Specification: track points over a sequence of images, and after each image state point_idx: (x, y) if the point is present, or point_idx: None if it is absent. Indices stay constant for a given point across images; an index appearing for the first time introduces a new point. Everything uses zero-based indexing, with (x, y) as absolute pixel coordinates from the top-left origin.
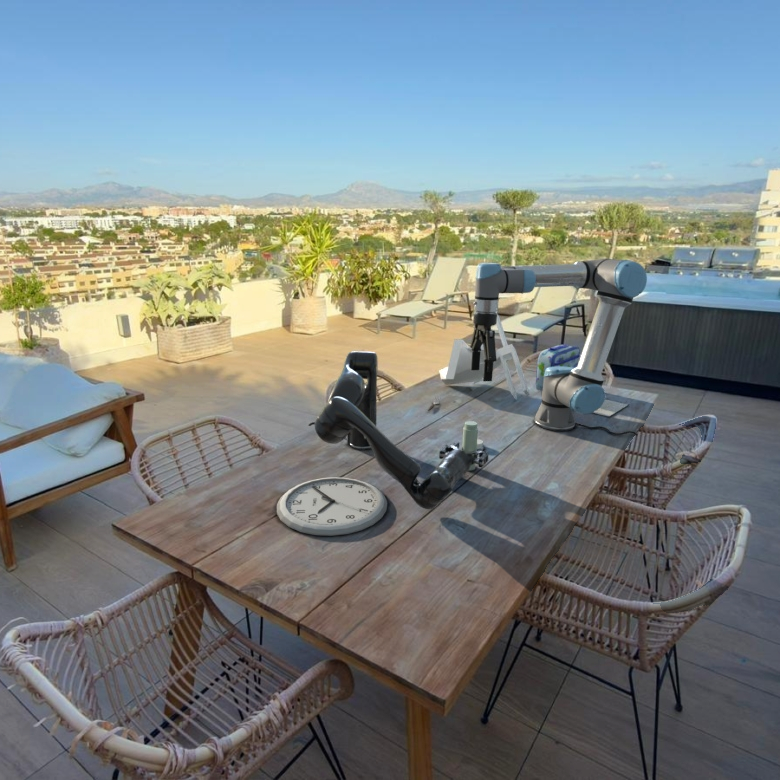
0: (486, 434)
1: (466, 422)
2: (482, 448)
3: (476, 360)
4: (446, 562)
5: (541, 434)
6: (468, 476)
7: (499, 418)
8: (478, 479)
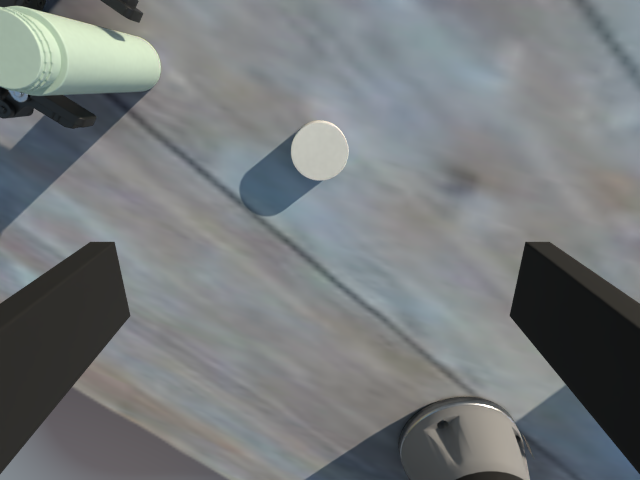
0: (422, 223)
1: (8, 21)
2: (58, 109)
3: (584, 353)
4: None
5: (388, 383)
6: None
7: None
8: None
